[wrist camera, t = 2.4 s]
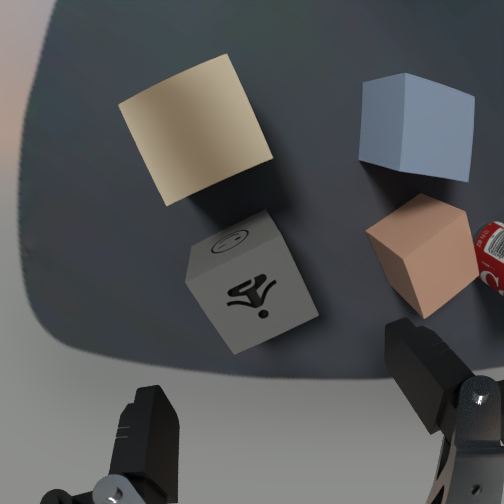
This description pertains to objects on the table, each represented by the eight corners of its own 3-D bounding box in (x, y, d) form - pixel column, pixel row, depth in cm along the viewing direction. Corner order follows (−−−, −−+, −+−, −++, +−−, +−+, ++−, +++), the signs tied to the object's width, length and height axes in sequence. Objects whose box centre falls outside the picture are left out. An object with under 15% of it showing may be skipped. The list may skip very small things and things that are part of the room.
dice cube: (265, 208, 19) (281, 234, 15) (297, 275, 21) (319, 315, 16) (191, 245, 20) (185, 282, 15) (229, 307, 21) (234, 354, 17)
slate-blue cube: (425, 98, 17) (474, 96, 13) (420, 168, 19) (468, 182, 15) (362, 82, 17) (405, 72, 12) (357, 159, 19) (399, 171, 14)
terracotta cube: (419, 192, 20) (465, 211, 15) (438, 247, 22) (479, 274, 17) (364, 230, 20) (402, 259, 16) (389, 284, 22) (424, 319, 18)
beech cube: (223, 73, 16) (226, 53, 11) (257, 150, 18) (273, 158, 13) (143, 110, 16) (118, 104, 12) (178, 186, 18) (166, 206, 14)
